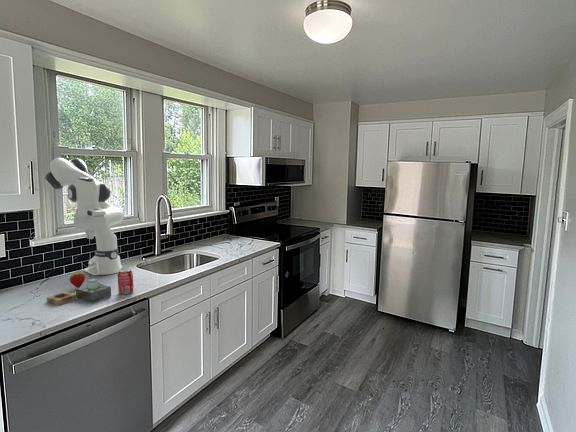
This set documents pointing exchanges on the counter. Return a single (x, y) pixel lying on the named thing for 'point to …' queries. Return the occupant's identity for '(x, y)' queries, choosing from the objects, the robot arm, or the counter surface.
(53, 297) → the wooden square frame
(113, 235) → the robot arm
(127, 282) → the soda can
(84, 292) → the port block
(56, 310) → the counter surface
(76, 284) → the strawberry
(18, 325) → the counter surface
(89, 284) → the plug
